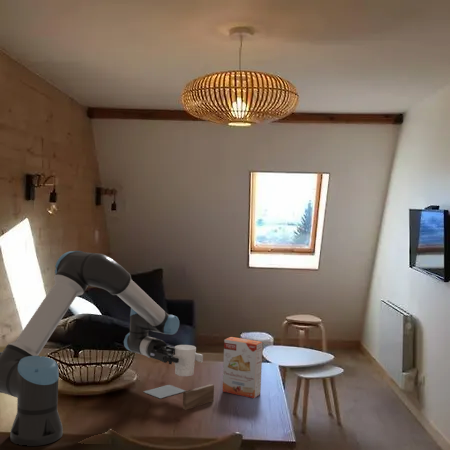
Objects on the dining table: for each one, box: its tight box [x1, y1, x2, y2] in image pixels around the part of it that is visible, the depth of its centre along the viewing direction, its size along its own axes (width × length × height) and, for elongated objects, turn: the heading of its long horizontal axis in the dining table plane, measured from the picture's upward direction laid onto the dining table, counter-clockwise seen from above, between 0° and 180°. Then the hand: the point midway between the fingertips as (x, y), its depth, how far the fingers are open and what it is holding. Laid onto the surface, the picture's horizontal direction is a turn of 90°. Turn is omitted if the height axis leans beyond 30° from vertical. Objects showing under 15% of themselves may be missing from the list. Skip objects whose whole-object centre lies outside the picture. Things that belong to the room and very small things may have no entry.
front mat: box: [143, 384, 186, 400], centre depth 220 cm, size 10×13×1 cm
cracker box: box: [221, 336, 263, 399], centre depth 221 cm, size 14×6×21 cm, turn 62°
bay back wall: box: [182, 383, 215, 411], centre depth 207 cm, size 2×14×6 cm, turn 137°
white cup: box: [174, 344, 197, 377], centre depth 212 cm, size 8×8×10 cm
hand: (193, 360), depth 209 cm, fingers closed on white cup, 8 cm apart
